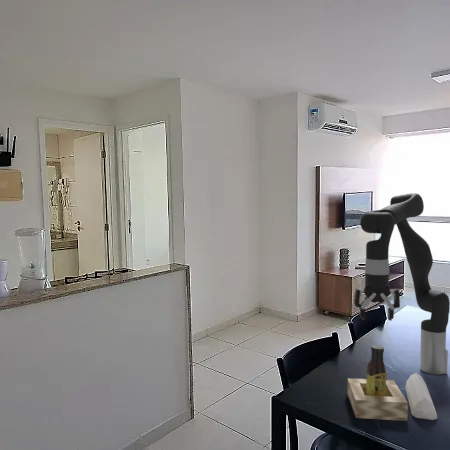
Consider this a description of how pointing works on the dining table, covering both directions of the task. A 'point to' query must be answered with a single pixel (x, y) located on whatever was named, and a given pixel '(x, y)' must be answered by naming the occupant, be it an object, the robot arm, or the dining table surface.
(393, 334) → the dining table surface
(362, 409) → the socket block
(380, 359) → the sauce bottle
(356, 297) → the robot arm
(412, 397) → the crystal
